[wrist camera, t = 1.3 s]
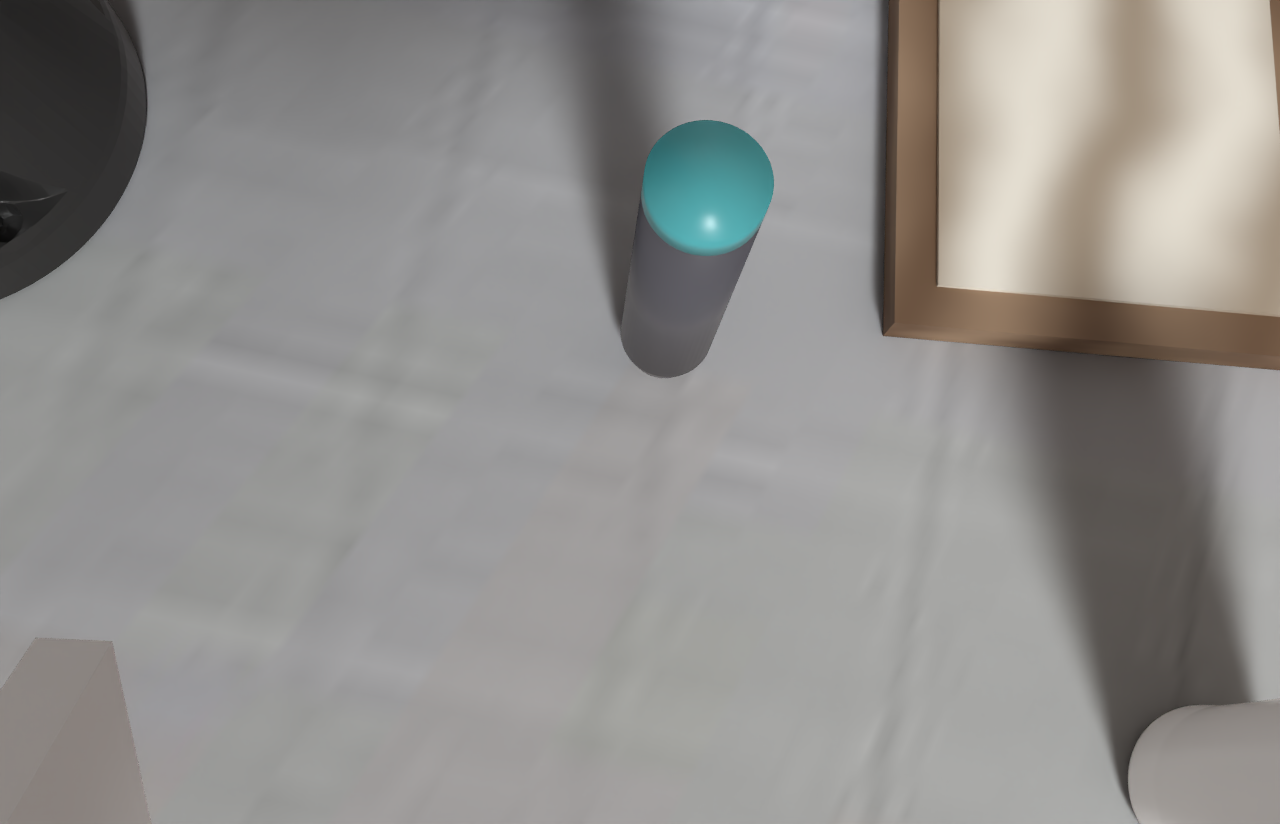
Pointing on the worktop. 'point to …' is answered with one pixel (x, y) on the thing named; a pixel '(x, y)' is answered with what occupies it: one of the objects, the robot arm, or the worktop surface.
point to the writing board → (1086, 177)
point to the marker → (691, 242)
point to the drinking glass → (1209, 766)
